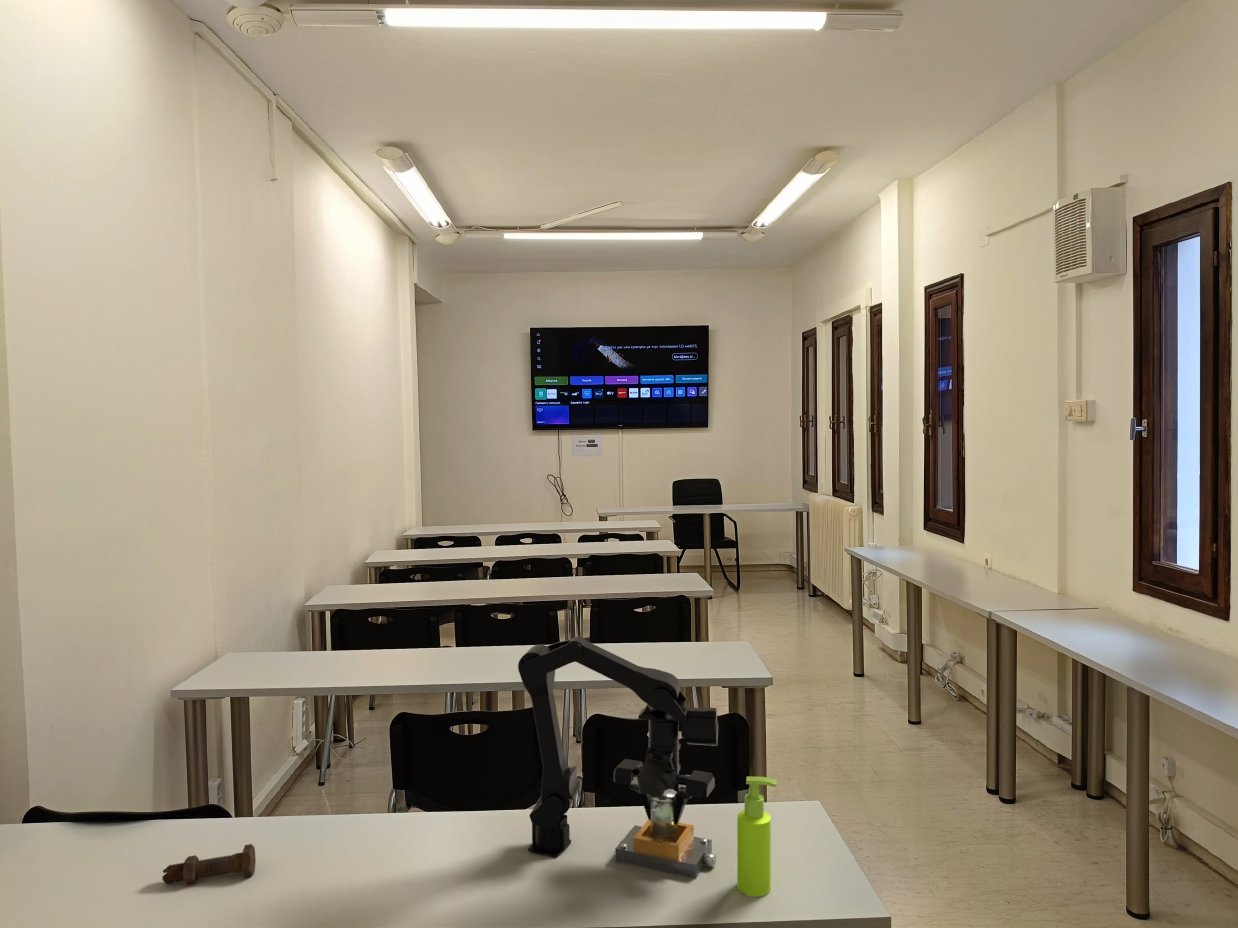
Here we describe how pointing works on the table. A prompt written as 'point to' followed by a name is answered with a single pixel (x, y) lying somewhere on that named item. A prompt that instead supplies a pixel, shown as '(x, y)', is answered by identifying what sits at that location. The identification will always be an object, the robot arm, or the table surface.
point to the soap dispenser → (754, 842)
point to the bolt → (211, 867)
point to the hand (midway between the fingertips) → (663, 821)
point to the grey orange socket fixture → (666, 850)
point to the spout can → (663, 813)
